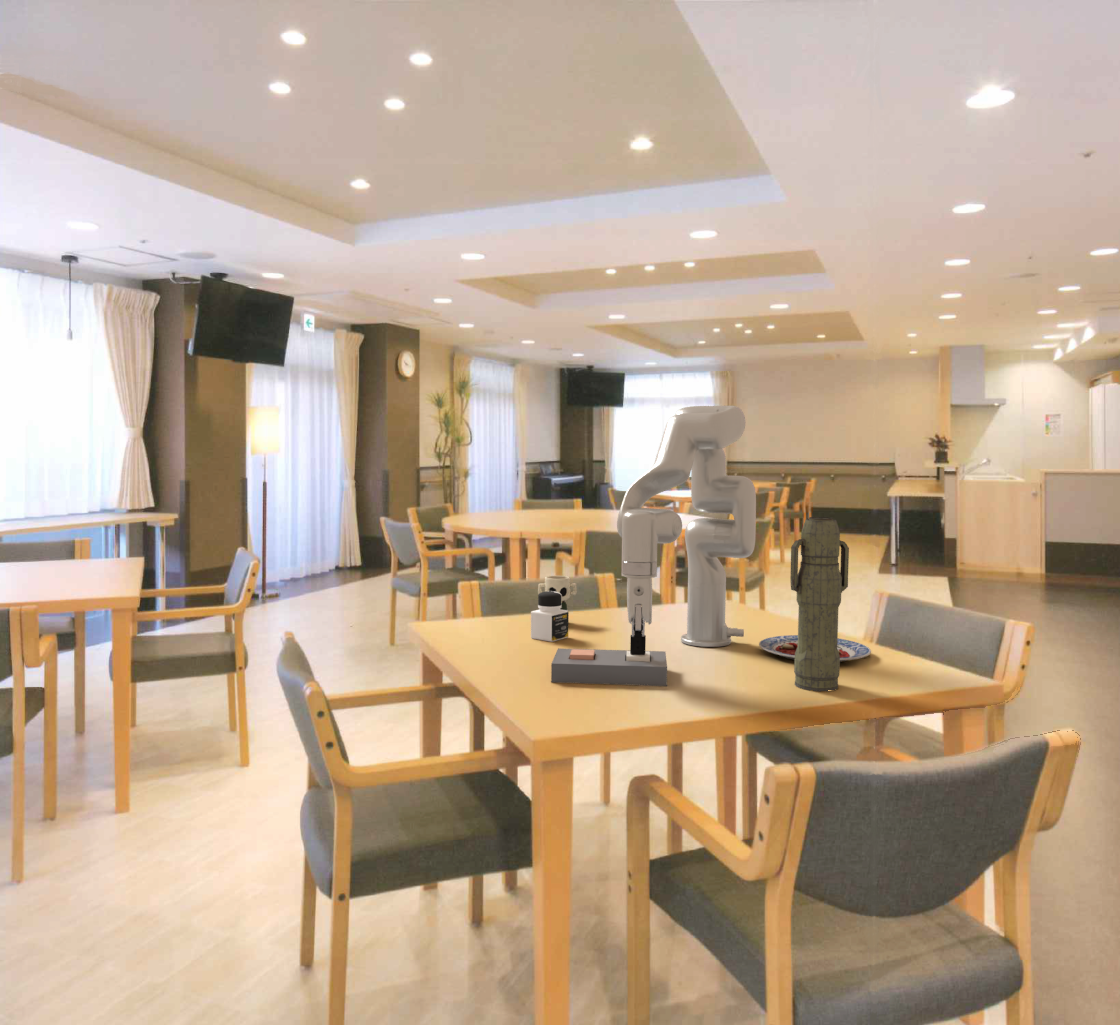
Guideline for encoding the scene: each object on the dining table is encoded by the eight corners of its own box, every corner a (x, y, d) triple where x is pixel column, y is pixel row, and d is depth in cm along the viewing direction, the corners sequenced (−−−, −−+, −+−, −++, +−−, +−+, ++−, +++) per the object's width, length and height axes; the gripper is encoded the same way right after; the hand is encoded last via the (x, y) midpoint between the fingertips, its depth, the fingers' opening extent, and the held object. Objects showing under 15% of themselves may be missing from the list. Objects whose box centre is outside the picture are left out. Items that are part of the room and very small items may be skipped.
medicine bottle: (552, 642, 219) (552, 595, 218) (530, 638, 223) (530, 592, 222) (568, 637, 224) (569, 591, 224) (547, 633, 229) (547, 589, 228)
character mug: (538, 625, 240) (538, 579, 239) (537, 620, 247) (537, 575, 246) (577, 625, 240) (577, 579, 239) (575, 620, 247) (575, 575, 246)
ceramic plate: (806, 673, 191) (806, 659, 190) (737, 648, 214) (737, 636, 214) (895, 662, 201) (895, 649, 201) (820, 640, 225) (820, 628, 224)
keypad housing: (665, 669, 192) (665, 651, 192) (666, 685, 178) (667, 666, 178) (557, 665, 194) (557, 648, 194) (551, 682, 180) (551, 663, 180)
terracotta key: (594, 663, 189) (594, 649, 189) (593, 669, 184) (593, 655, 184) (571, 662, 189) (571, 649, 189) (569, 668, 184) (569, 654, 184)
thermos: (854, 689, 176) (859, 519, 174) (802, 693, 173) (806, 519, 171) (830, 678, 185) (834, 515, 183) (780, 681, 182) (784, 516, 180)
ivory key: (649, 665, 188) (649, 651, 188) (649, 670, 183) (649, 656, 183) (626, 664, 188) (626, 650, 188) (626, 670, 183) (626, 656, 183)
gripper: (657, 574, 176) (655, 662, 177) (656, 565, 191) (654, 647, 192) (620, 573, 177) (619, 661, 178) (622, 564, 192) (621, 646, 193)
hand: (637, 653), depth 185 cm, fingers closed
